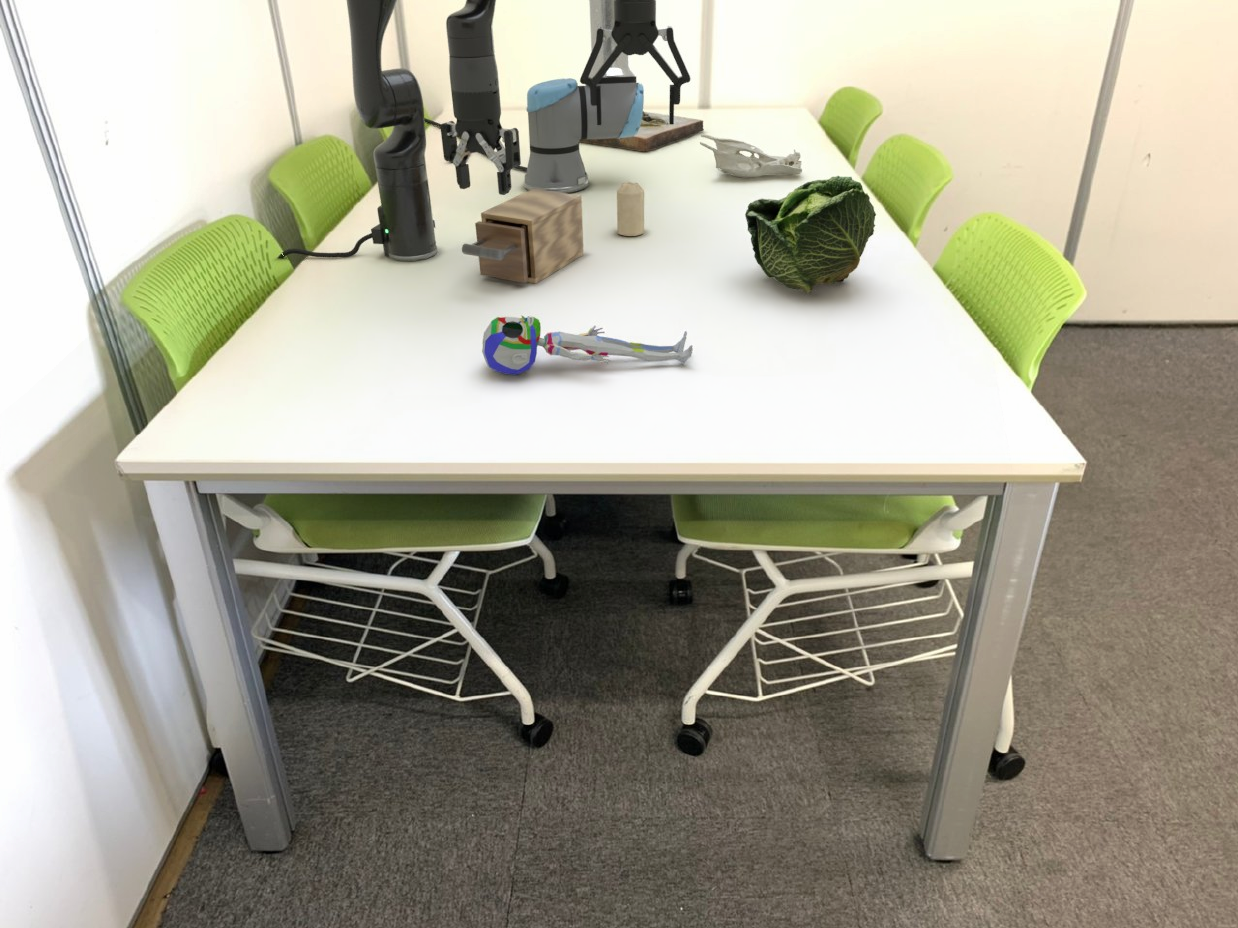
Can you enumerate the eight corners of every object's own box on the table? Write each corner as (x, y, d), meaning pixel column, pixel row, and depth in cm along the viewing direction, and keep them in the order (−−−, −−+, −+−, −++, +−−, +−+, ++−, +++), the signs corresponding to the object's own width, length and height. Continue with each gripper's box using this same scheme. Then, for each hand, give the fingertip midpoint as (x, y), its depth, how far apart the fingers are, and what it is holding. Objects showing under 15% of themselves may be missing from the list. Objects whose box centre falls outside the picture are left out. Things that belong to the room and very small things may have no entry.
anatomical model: (702, 130, 224) (803, 129, 220) (702, 168, 229) (801, 167, 225) (697, 145, 212) (805, 144, 208) (697, 184, 216) (802, 184, 213)
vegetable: (771, 309, 166) (722, 214, 159) (855, 252, 168) (810, 155, 160) (822, 325, 148) (769, 219, 140) (916, 260, 149) (868, 151, 142)
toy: (697, 344, 127) (483, 326, 122) (687, 397, 131) (480, 382, 126) (685, 315, 135) (485, 298, 130) (676, 366, 139) (482, 351, 135)
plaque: (647, 125, 237) (559, 112, 252) (647, 153, 241) (560, 139, 256) (706, 107, 258) (622, 97, 273) (705, 133, 262) (622, 121, 277)
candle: (647, 229, 186) (647, 180, 180) (639, 237, 181) (639, 187, 176) (622, 227, 187) (621, 178, 182) (613, 235, 183) (612, 185, 177)
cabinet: (535, 283, 161) (531, 220, 155) (486, 274, 165) (480, 213, 159) (583, 254, 173) (581, 195, 167) (536, 246, 178) (533, 188, 172)
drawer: (506, 294, 154) (501, 240, 149) (461, 285, 158) (455, 232, 153) (570, 255, 170) (568, 205, 165) (528, 248, 174) (524, 199, 169)
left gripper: (423, 86, 141) (436, 191, 150) (499, 93, 135) (507, 202, 144) (452, 79, 147) (463, 180, 155) (526, 85, 141) (533, 190, 150)
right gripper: (562, 0, 155) (568, 128, 166) (707, -2, 154) (702, 126, 166) (565, -4, 161) (570, 120, 173) (704, -6, 161) (700, 118, 172)
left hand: (484, 190), depth 150 cm, fingers open, 7 cm apart
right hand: (635, 123), depth 169 cm, fingers open, 13 cm apart
